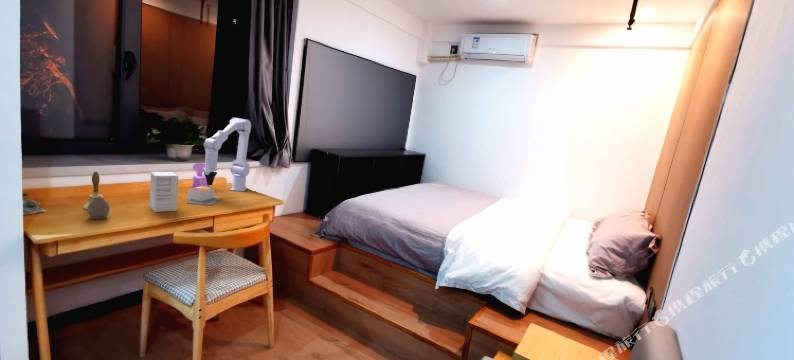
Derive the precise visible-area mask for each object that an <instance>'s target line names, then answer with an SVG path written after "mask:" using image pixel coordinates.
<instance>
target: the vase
mask: <svg viewBox="0 0 794 360" xmlns="http://www.w3.org/2000/svg"><path fill="white" fill-rule="evenodd" d="M110 209H111V208H110V205H109V203H108V202H107V200H105V199H104V196H103V197H100V196H98V197H95V198H94V200H93V201H92V202H91V203H90V204H89V205H88V208H87V209H86V210H87V211H86V212H87V214H88V216H89V217H90V218H91V219H92V220H103V219H105V218H107V217H108V216H109V214H110V212H111V211H110Z"/></svg>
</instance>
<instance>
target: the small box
mask: <svg viewBox="0 0 794 360" xmlns="http://www.w3.org/2000/svg"><path fill="white" fill-rule="evenodd" d="M211 198H215V187H210V186H209V187H205V186H199V187H191V188H188V191H187V199H188V200H189V201H190V200H196V201H201V202H202V201H205V200H208V199H211Z"/></svg>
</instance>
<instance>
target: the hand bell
mask: <svg viewBox="0 0 794 360" xmlns="http://www.w3.org/2000/svg"><path fill="white" fill-rule="evenodd" d="M100 180H101V179H100V175H99V172H98V171H93V173H92V175H91V183H92V185H93V193H92V194H89V196H88V200H87V203H86V204H84V205H83V207H82V208H83V209H85V210H87V208H88V205H89V204H90V203H91V202H92V201H93V200H94V198H95V197H98V196H100V197H103V198H104V196H103V194H100V192H99V185H100Z"/></svg>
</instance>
